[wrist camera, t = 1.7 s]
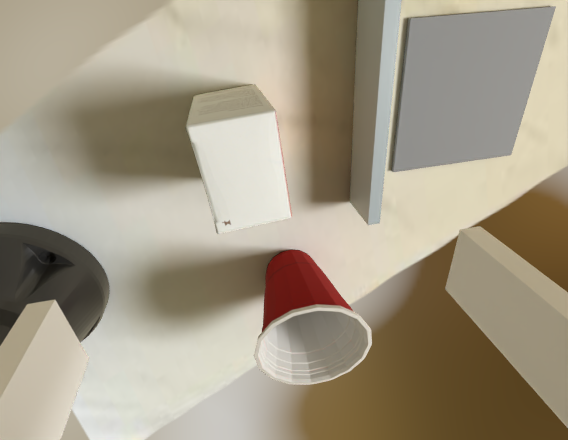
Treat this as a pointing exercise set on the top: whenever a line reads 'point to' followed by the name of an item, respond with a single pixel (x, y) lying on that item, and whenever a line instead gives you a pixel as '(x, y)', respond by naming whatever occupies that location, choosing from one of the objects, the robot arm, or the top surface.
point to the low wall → (372, 102)
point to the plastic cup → (307, 324)
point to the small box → (239, 157)
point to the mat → (466, 85)
